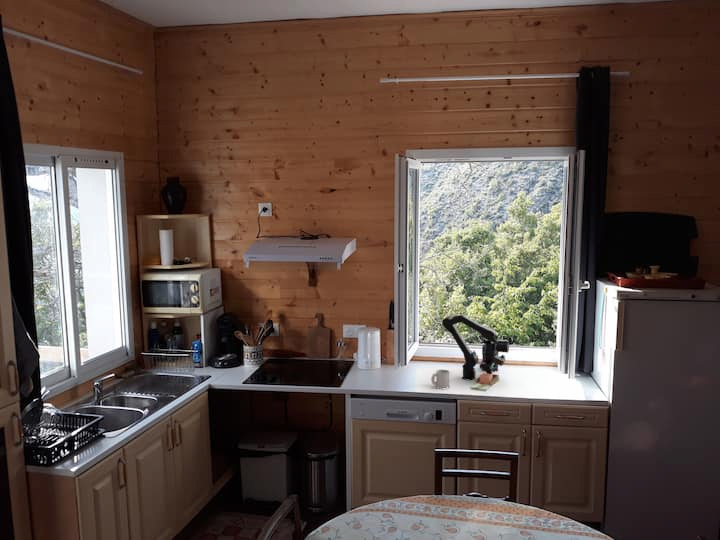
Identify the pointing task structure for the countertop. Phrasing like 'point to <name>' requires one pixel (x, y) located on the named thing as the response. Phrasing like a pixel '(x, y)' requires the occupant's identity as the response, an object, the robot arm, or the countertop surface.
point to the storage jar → (484, 358)
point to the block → (486, 378)
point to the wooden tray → (484, 385)
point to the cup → (441, 378)
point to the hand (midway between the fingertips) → (489, 377)
